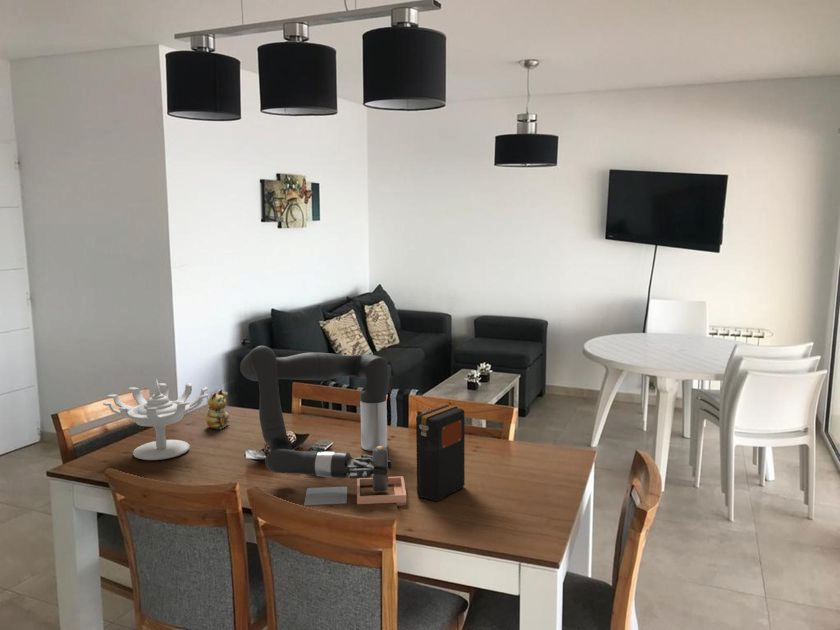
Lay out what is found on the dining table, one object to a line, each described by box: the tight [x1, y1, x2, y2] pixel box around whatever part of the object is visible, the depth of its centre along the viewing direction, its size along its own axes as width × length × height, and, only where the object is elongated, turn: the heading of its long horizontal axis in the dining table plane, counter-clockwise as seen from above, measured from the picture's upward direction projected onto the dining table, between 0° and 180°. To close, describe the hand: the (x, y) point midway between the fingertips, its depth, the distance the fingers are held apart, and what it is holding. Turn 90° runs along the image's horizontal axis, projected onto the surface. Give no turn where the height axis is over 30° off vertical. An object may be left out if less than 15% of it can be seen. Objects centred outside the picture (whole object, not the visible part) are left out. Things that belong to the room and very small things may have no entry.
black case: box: [415, 404, 466, 502], centre depth 201 cm, size 16×9×25 cm, turn 141°
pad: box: [303, 486, 348, 506], centre depth 199 cm, size 12×12×1 cm
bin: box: [356, 475, 407, 506], centre depth 200 cm, size 14×14×3 cm
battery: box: [372, 446, 389, 493], centre depth 199 cm, size 4×4×13 cm
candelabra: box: [102, 377, 209, 461], centre depth 237 cm, size 34×35×27 cm
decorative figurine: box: [205, 389, 231, 430], centre depth 266 cm, size 10×8×15 cm
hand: (389, 467), depth 199 cm, fingers closed on battery, 4 cm apart
